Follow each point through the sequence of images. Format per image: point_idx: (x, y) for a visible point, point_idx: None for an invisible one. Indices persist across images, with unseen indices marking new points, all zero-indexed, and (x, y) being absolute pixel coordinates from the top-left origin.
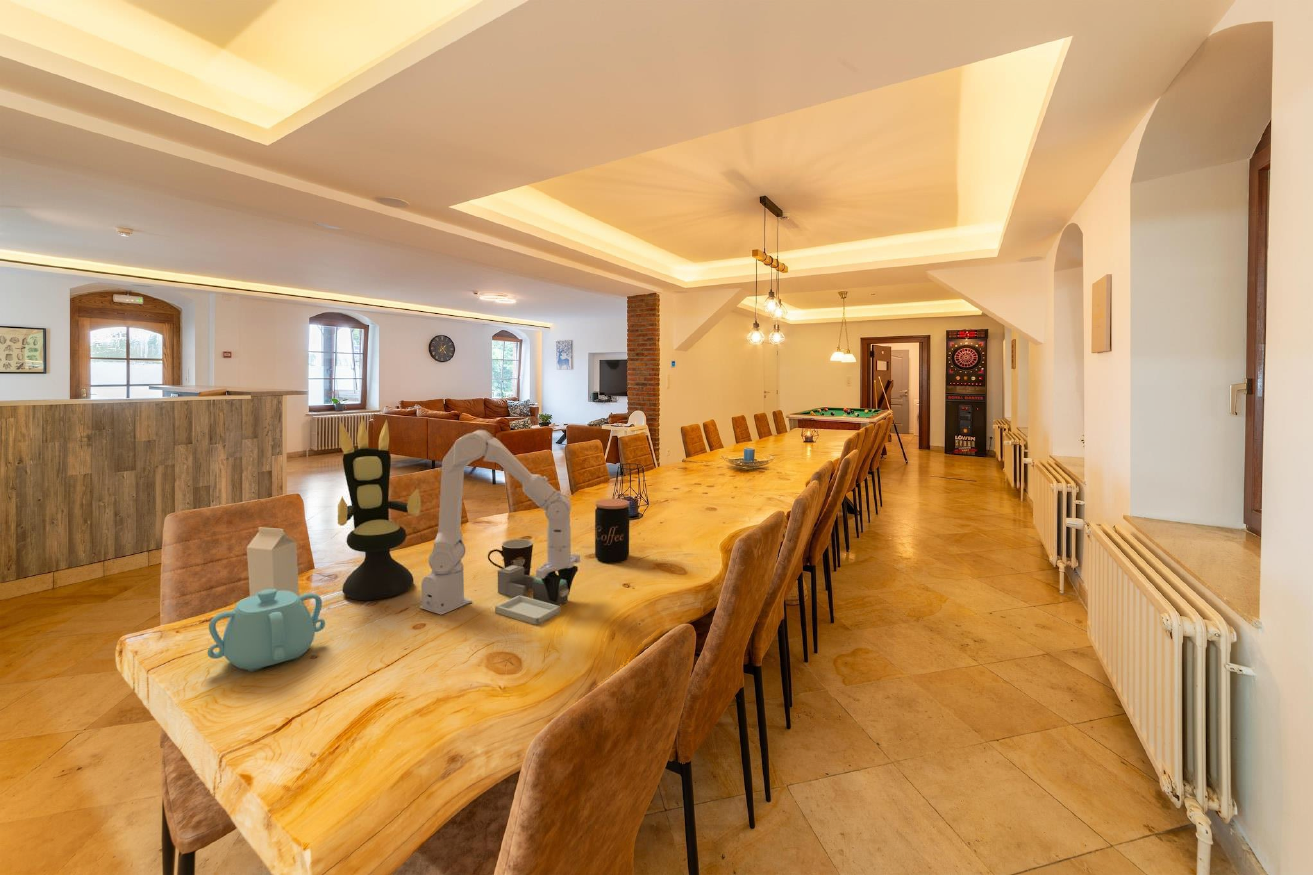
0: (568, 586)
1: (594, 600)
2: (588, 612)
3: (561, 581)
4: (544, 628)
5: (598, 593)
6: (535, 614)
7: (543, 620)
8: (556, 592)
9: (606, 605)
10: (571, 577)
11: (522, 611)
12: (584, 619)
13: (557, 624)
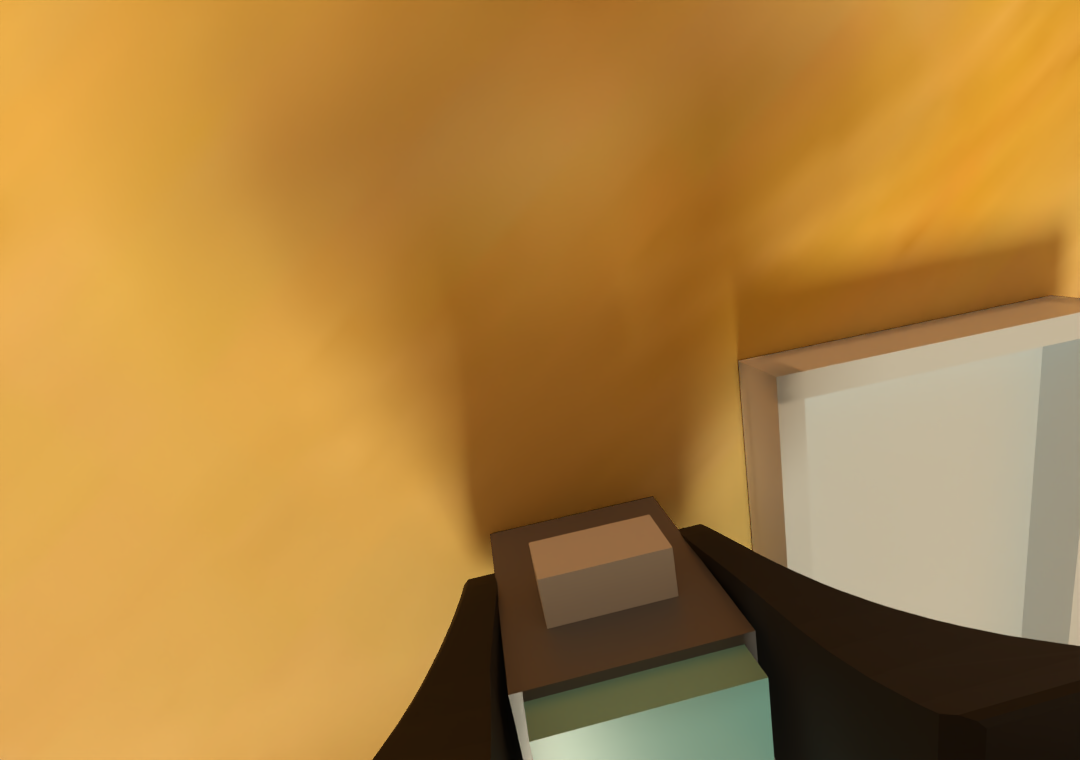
0: (496, 641)
1: (244, 343)
2: (540, 127)
3: (623, 745)
4: (1065, 192)
5: (55, 472)
6: (927, 471)
7: (984, 313)
8: (770, 568)
9: (224, 101)
10: (471, 738)
11: (935, 596)
12: (706, 14)
13: (947, 162)
